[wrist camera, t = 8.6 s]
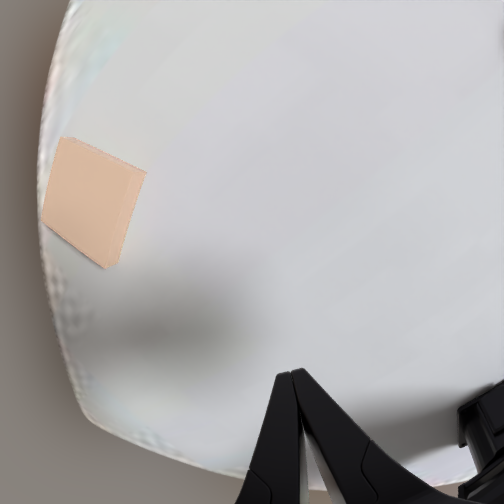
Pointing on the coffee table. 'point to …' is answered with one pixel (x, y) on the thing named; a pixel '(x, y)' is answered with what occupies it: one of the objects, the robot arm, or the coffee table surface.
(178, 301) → the coffee table surface
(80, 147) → the tile
